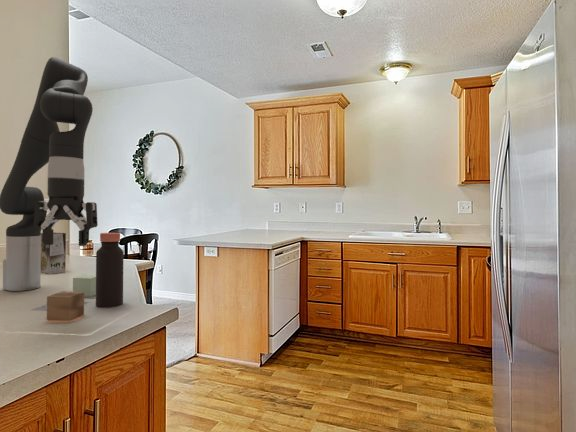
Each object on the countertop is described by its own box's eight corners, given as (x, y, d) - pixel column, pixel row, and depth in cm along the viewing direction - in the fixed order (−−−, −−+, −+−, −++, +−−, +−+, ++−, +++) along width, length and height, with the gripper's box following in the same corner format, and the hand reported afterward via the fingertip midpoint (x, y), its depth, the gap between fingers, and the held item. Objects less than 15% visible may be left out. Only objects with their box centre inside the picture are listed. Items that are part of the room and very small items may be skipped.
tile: (29, 311, 95) (29, 310, 95) (56, 302, 105) (56, 300, 105) (67, 313, 94) (67, 311, 94) (90, 303, 104) (90, 301, 104)
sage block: (72, 296, 110) (72, 277, 110) (84, 292, 115) (84, 274, 115) (90, 297, 110) (90, 278, 109) (101, 292, 115) (101, 275, 115)
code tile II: (60, 299, 108) (60, 297, 108) (81, 291, 118) (81, 290, 118) (93, 300, 107) (93, 299, 107) (112, 292, 117) (112, 291, 117)
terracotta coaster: (37, 323, 85) (37, 321, 85) (60, 314, 93) (60, 311, 93) (70, 325, 85) (70, 322, 85) (91, 315, 93) (91, 312, 93)
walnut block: (62, 313, 92) (62, 291, 92) (83, 314, 92) (84, 292, 91) (46, 320, 86) (47, 296, 86) (69, 320, 86) (69, 297, 86)
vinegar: (90, 306, 101) (91, 233, 101) (114, 301, 106) (115, 232, 106) (103, 310, 97) (104, 234, 97) (128, 305, 103) (128, 233, 102)
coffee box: (66, 272, 152) (66, 232, 152) (49, 274, 147) (49, 233, 146) (55, 269, 157) (55, 231, 157) (38, 271, 151) (38, 232, 151)
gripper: (104, 179, 92) (103, 244, 92) (49, 178, 92) (48, 243, 93) (85, 176, 84) (84, 247, 84) (25, 175, 85) (25, 246, 85)
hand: (65, 245), depth 89 cm, fingers open, 8 cm apart
